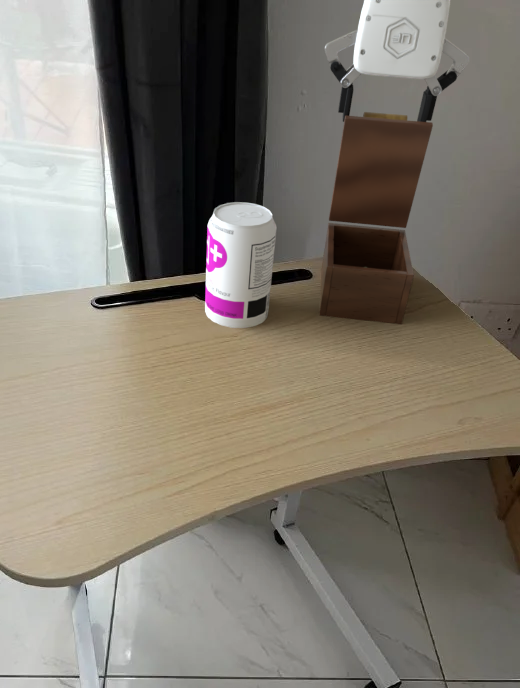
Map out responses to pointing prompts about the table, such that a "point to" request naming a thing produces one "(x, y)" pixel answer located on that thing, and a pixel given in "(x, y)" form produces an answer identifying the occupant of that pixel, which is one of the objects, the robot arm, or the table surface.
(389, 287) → the chest
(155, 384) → the table surface
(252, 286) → the supplement can
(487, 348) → the table surface
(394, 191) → the lid
